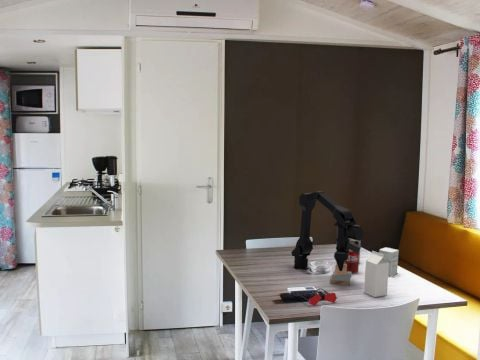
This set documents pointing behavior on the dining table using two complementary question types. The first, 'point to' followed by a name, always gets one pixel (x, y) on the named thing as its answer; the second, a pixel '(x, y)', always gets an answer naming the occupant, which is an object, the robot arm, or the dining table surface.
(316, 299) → the glasses
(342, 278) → the tower top
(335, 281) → the tower base
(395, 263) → the supplement box
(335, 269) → the block
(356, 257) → the soda can
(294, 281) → the dining table surface
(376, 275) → the milk carton
